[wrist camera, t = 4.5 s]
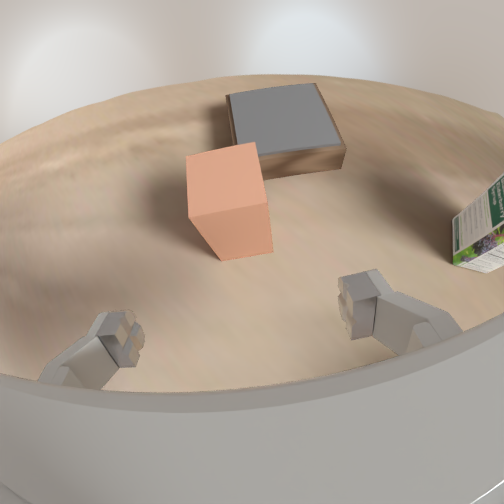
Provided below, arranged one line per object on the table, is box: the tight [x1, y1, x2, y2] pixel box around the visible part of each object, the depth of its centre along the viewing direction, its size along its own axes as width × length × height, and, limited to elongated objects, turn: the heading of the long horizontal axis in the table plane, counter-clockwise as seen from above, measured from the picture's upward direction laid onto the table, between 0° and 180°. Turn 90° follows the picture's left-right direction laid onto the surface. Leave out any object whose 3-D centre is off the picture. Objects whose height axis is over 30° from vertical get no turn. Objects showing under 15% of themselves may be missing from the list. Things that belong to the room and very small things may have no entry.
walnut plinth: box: [225, 83, 346, 180], centre depth 28 cm, size 11×11×4 cm
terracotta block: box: [186, 142, 273, 261], centre depth 22 cm, size 5×5×10 cm
